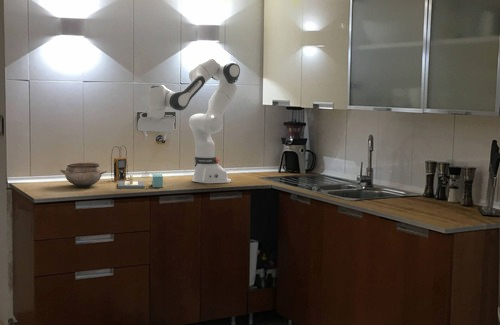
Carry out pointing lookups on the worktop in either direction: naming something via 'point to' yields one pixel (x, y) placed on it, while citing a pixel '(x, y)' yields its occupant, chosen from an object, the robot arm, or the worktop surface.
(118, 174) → the multimeter
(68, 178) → the cooking pot
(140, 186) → the header board
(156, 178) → the block
